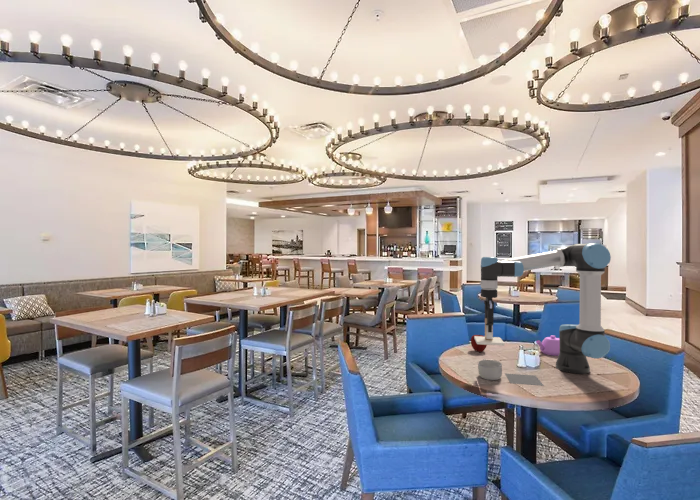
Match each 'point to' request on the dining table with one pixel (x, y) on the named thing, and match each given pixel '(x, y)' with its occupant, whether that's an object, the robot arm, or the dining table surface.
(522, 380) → the mat
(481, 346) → the apple
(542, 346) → the teapot
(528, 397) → the dining table surface
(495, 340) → the lid
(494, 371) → the teacup
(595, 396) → the dining table surface
